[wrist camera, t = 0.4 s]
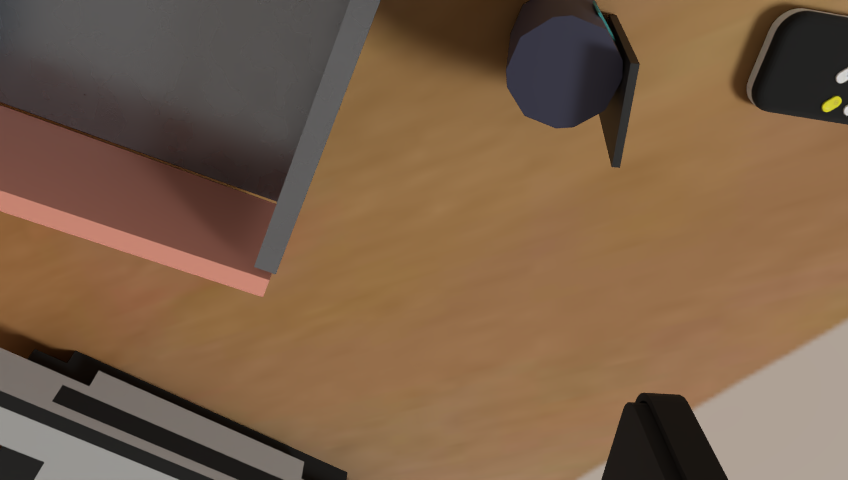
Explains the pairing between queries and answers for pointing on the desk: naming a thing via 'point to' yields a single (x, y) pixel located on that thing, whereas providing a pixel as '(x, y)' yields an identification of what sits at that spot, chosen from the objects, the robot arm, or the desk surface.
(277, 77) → the box
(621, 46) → the speaker
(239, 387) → the desk surface
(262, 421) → the desk surface
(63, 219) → the tailgate
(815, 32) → the remote control
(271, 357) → the desk surface
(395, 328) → the desk surface
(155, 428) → the game console
